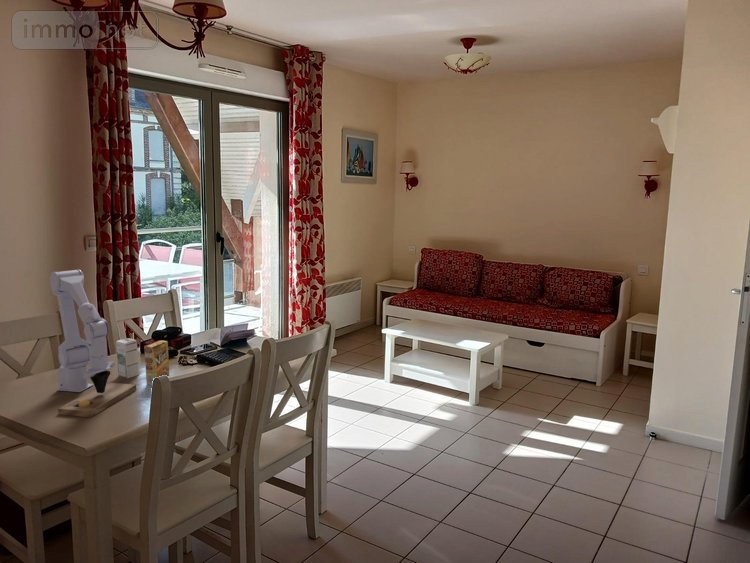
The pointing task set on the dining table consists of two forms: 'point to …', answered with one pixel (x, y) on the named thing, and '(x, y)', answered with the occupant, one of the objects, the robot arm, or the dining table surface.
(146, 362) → the candy box
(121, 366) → the syrup box
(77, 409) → the hole board
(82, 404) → the ball
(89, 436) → the dining table surface
